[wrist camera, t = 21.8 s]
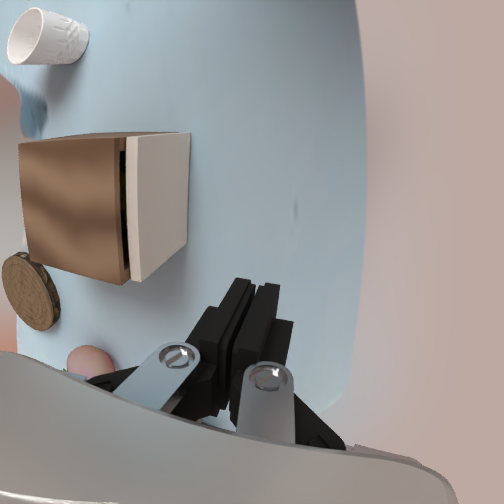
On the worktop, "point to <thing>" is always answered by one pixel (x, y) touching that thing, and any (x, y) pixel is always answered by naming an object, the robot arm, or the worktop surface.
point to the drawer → (155, 199)
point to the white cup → (46, 39)
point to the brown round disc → (31, 291)
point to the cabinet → (76, 204)
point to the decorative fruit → (89, 362)
